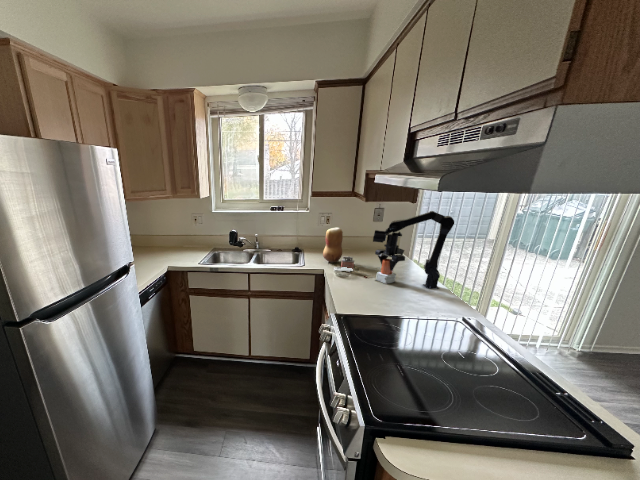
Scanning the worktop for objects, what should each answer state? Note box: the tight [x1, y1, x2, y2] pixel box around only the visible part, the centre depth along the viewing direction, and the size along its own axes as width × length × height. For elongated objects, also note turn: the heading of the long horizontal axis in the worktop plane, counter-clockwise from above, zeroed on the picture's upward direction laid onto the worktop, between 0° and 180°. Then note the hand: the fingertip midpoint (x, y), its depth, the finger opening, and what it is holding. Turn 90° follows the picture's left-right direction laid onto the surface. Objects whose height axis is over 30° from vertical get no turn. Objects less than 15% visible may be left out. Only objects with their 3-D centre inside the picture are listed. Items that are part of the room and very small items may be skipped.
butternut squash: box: [322, 227, 344, 263], centre depth 228 cm, size 14×13×25 cm
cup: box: [380, 258, 394, 275], centre depth 190 cm, size 6×6×8 cm
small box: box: [375, 271, 397, 285], centre depth 192 cm, size 8×8×5 cm
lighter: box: [340, 255, 355, 270], centre depth 211 cm, size 8×3×10 cm, turn 74°
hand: (387, 269), depth 190 cm, fingers closed on cup, 6 cm apart
